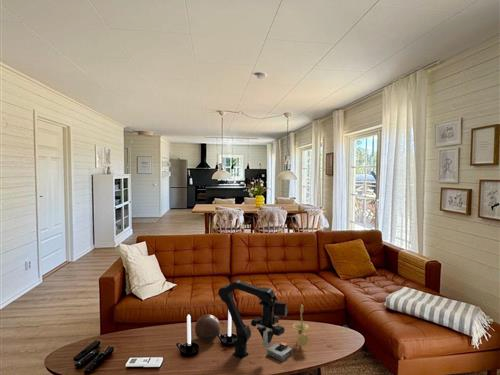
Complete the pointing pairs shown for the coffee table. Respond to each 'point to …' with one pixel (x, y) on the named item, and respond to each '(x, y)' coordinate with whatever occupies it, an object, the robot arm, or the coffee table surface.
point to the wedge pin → (266, 339)
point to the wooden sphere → (207, 328)
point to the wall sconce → (301, 330)
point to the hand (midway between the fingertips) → (266, 341)
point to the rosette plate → (283, 349)
